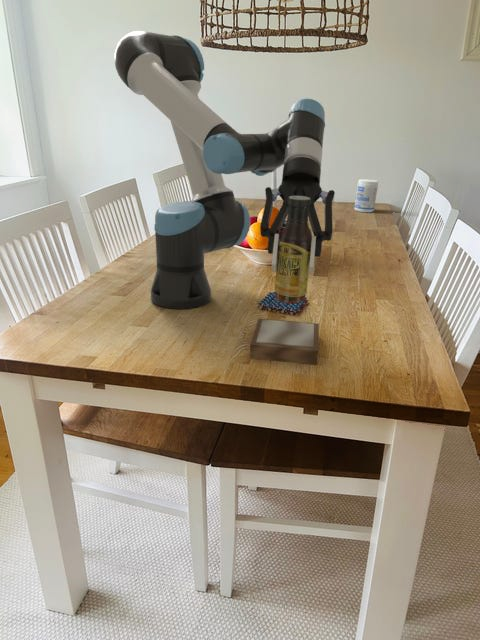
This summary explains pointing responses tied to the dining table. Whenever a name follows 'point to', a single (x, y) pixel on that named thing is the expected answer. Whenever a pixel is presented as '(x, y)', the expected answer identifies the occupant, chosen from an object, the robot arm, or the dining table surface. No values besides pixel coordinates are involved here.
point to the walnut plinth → (285, 341)
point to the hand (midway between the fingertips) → (292, 268)
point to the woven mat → (281, 305)
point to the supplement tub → (366, 195)
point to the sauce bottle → (294, 253)
